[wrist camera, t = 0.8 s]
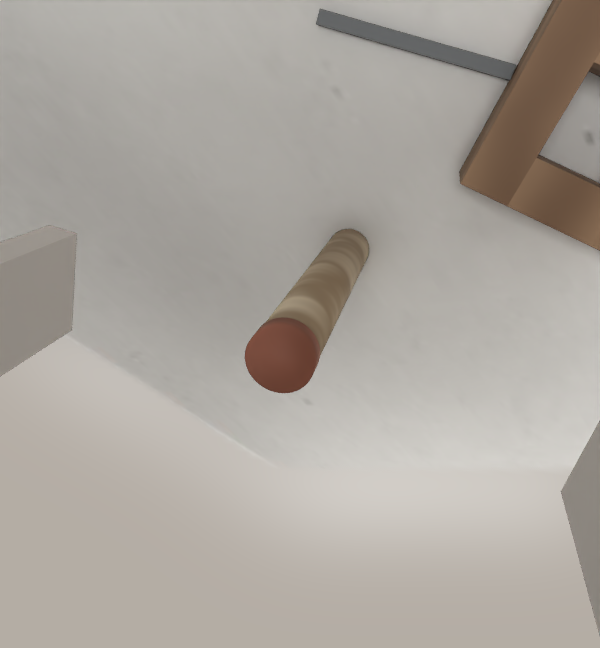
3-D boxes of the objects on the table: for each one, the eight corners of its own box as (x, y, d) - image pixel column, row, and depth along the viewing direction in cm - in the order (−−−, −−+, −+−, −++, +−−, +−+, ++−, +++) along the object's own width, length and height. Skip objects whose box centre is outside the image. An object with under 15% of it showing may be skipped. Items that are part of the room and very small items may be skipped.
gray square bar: (318, 25, 29) (316, 24, 29) (321, 9, 29) (319, 8, 28) (509, 80, 28) (510, 80, 28) (515, 65, 28) (516, 64, 27)
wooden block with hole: (459, 171, 30) (460, 183, 27) (558, -11, 26) (575, -26, 23) (615, 246, 30) (638, 269, 26) (740, 73, 26) (787, 71, 22)
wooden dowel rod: (320, 258, 34) (235, 372, 20) (338, 220, 33) (259, 316, 19) (358, 276, 34) (297, 404, 20) (377, 239, 33) (325, 349, 19)
